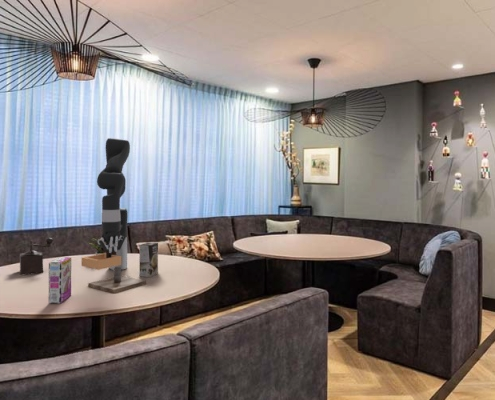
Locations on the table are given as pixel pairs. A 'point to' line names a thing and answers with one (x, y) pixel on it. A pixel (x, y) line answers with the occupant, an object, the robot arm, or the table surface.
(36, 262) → the manual coffee grinder
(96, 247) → the house plant
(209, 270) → the table surface
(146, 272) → the coffee box
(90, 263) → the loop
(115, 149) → the robot arm
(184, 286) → the table surface
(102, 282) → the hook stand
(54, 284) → the candy bar box
